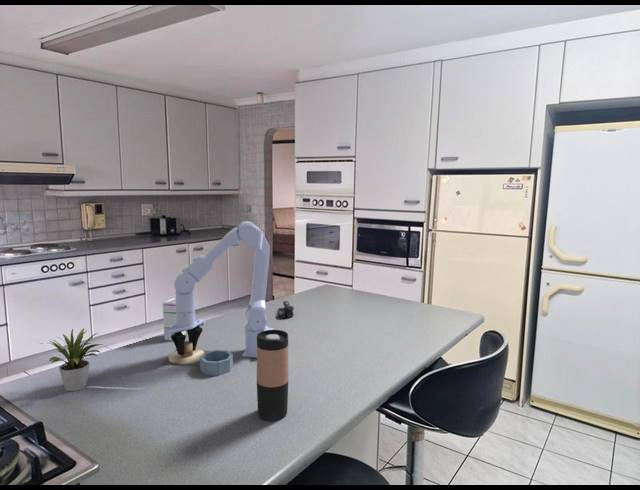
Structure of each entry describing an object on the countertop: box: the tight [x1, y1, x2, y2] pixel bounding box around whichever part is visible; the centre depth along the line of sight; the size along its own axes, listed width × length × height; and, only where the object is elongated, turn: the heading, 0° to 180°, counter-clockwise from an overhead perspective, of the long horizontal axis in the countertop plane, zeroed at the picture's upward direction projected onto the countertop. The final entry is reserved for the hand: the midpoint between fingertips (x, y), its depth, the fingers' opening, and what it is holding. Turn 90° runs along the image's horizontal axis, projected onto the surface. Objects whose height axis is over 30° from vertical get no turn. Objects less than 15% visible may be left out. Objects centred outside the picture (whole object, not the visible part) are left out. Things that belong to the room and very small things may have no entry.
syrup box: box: [162, 297, 188, 341], centre depth 147 cm, size 6×6×14 cm
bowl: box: [199, 349, 234, 377], centre depth 123 cm, size 9×9×4 cm
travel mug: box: [256, 329, 289, 422], centre depth 99 cm, size 8×8×20 cm
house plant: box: [39, 328, 105, 392], centre depth 109 cm, size 14×14×16 cm
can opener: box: [278, 300, 295, 319], centre depth 181 cm, size 18×7×6 cm, turn 5°
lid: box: [168, 340, 205, 365], centre depth 130 cm, size 11×11×5 cm
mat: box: [159, 349, 211, 368], centre depth 131 cm, size 12×12×1 cm
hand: (186, 352), depth 130 cm, fingers open, 4 cm apart
